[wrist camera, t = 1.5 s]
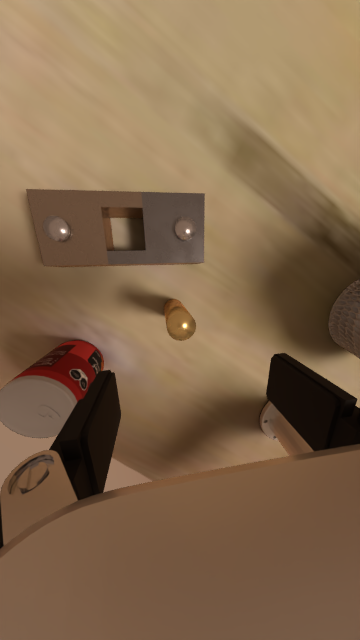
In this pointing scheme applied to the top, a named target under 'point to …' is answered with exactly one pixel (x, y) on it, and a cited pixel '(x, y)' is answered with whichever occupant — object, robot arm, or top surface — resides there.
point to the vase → (347, 319)
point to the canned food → (49, 390)
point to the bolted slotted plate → (96, 234)
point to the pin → (178, 320)
